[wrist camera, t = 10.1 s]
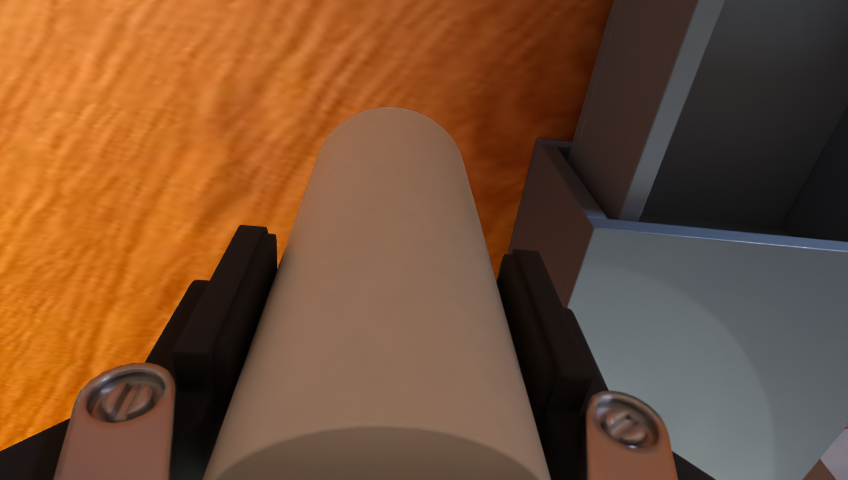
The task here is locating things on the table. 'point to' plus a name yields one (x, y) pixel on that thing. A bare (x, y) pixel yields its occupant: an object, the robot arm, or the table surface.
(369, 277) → the paper roll
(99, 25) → the table surface
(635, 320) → the cabinet
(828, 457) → the coffeepot
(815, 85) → the drawer
